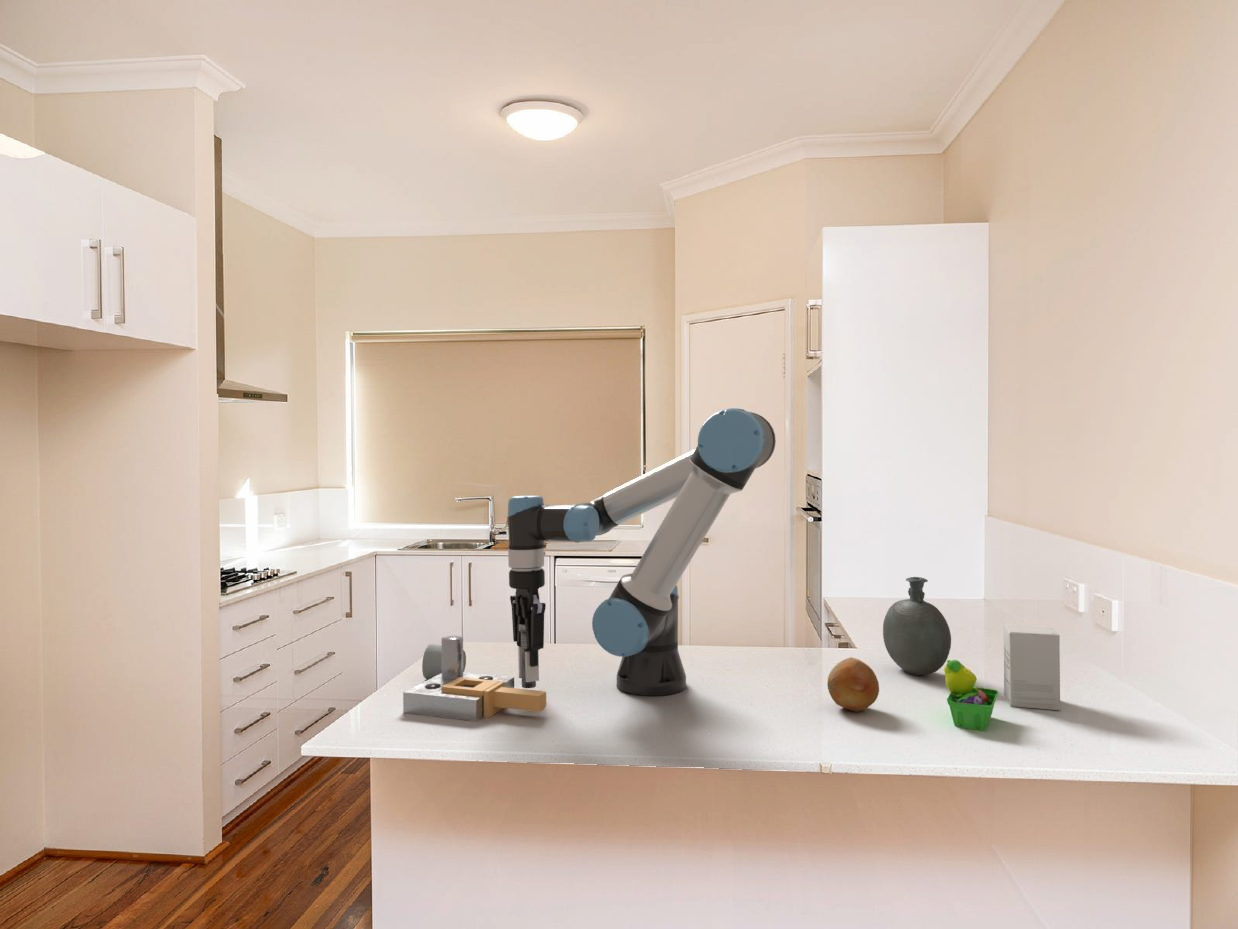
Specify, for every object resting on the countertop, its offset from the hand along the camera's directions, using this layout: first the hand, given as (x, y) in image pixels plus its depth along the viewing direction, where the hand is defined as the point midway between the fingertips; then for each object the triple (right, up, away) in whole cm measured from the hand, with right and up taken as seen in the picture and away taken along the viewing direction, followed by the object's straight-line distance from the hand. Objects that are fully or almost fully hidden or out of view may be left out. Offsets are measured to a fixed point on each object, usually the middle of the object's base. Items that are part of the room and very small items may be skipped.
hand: (528, 678), depth 164 cm
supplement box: (+102, -3, -8) cm, 103 cm away
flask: (+87, -3, +13) cm, 88 cm away
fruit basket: (+85, -3, -19) cm, 87 cm away
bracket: (-5, -3, -13) cm, 14 cm away
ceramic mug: (-20, -3, +11) cm, 23 cm away
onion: (+65, -3, -12) cm, 66 cm away
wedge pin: (0, -2, 0) cm, 2 cm away
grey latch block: (-13, -3, -8) cm, 16 cm away
